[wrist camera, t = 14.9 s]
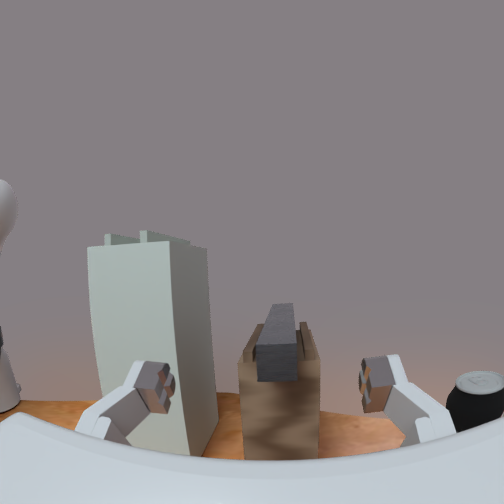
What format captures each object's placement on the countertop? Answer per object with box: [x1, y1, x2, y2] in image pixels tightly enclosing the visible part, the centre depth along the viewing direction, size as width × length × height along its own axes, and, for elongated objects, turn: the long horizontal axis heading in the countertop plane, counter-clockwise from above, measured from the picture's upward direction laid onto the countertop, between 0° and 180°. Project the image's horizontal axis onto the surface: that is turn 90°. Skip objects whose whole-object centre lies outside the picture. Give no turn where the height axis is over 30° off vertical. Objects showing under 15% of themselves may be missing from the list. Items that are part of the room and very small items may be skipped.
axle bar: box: [256, 303, 297, 382], centre depth 32 cm, size 3×23×3 cm, turn 173°
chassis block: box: [238, 322, 320, 460], centre depth 31 cm, size 7×13×16 cm, turn 173°
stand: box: [88, 230, 219, 457], centre depth 36 cm, size 10×14×27 cm
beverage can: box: [446, 371, 504, 433], centre depth 19 cm, size 6×6×12 cm
